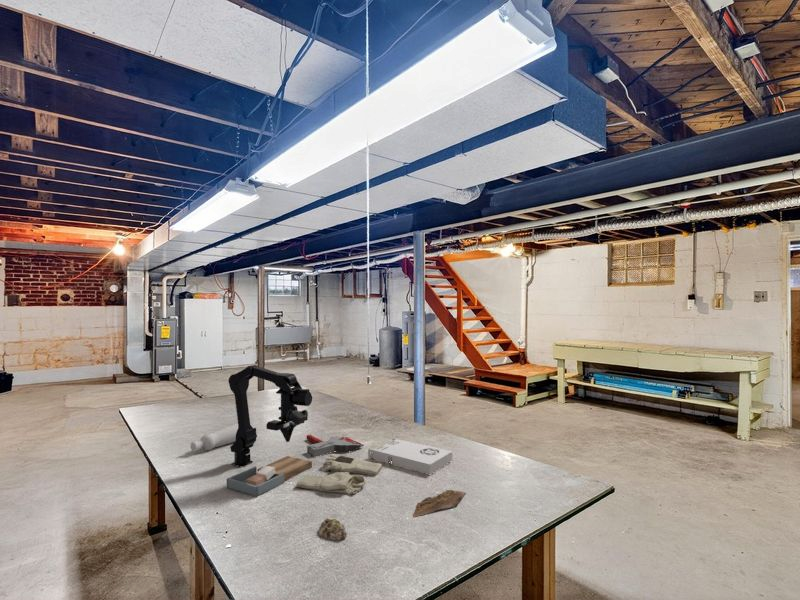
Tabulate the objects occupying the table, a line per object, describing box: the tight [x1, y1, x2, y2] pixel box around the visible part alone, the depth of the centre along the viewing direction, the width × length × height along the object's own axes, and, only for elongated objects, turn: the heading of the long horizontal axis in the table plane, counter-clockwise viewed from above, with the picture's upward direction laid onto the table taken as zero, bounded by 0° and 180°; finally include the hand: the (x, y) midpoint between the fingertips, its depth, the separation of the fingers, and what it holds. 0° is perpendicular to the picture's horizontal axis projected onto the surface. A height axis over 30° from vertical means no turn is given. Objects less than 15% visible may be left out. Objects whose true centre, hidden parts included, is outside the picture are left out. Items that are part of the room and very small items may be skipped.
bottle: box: [190, 422, 238, 453], centre depth 203 cm, size 9×9×30 cm
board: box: [257, 455, 313, 482], centre depth 170 cm, size 14×17×2 cm
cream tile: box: [256, 465, 276, 480], centre depth 160 cm, size 5×5×2 cm
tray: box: [226, 466, 285, 498], centre depth 156 cm, size 16×14×4 cm
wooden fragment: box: [412, 489, 467, 518], centre depth 141 cm, size 26×11×1 cm, turn 128°
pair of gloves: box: [296, 453, 383, 495], centre depth 163 cm, size 30×26×5 cm
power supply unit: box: [367, 438, 453, 475], centre depth 182 cm, size 19×33×5 cm, turn 54°
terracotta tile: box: [246, 475, 266, 486], centre depth 156 cm, size 5×5×2 cm
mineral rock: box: [318, 517, 348, 541], centre depth 122 cm, size 11×4×8 cm
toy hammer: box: [306, 434, 364, 458], centre depth 202 cm, size 24×4×30 cm
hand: (287, 441), depth 171 cm, fingers closed
